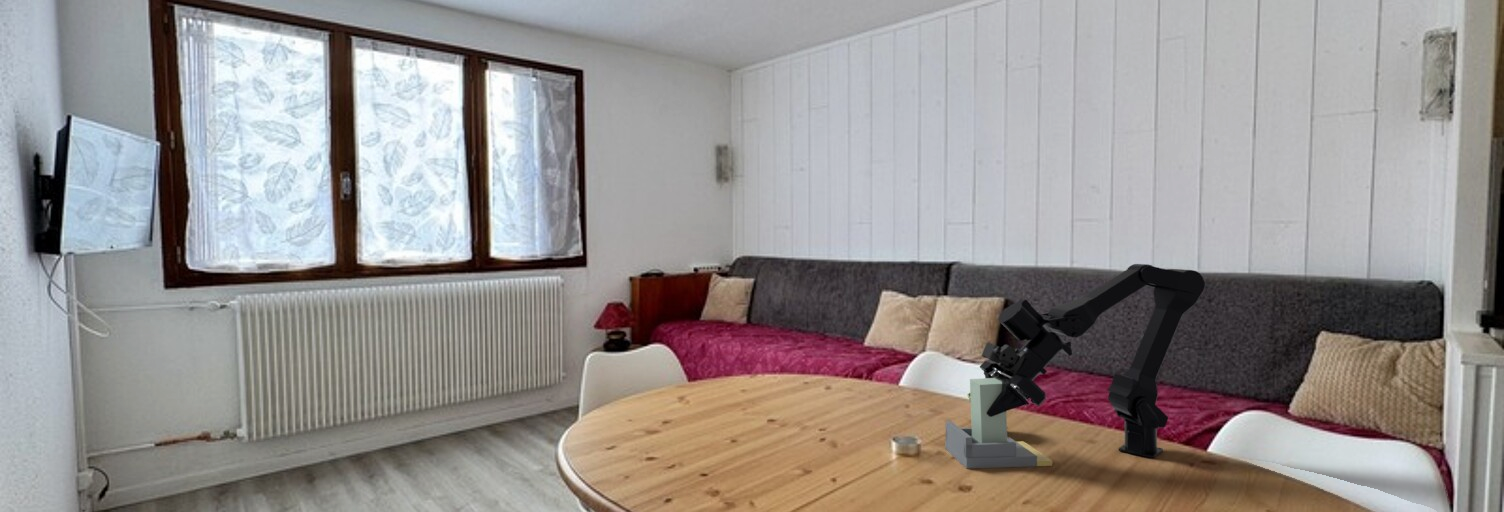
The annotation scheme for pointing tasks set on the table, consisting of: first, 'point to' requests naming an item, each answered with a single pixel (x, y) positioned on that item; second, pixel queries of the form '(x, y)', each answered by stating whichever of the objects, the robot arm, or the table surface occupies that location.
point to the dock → (990, 451)
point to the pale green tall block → (981, 401)
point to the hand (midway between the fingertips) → (982, 411)
